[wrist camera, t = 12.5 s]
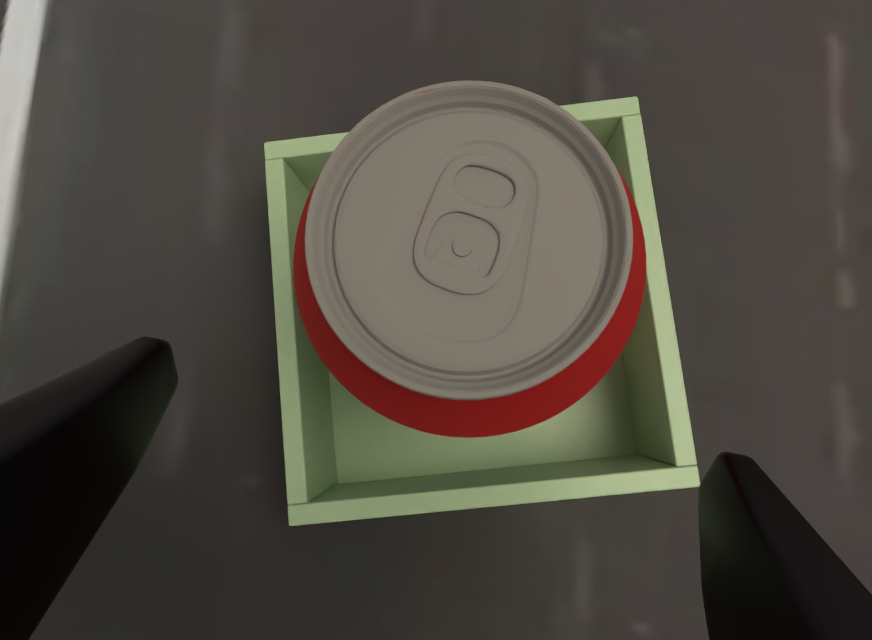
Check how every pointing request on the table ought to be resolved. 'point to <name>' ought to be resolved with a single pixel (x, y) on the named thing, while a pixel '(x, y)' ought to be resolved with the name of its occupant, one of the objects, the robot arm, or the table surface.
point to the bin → (481, 456)
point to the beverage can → (469, 260)
